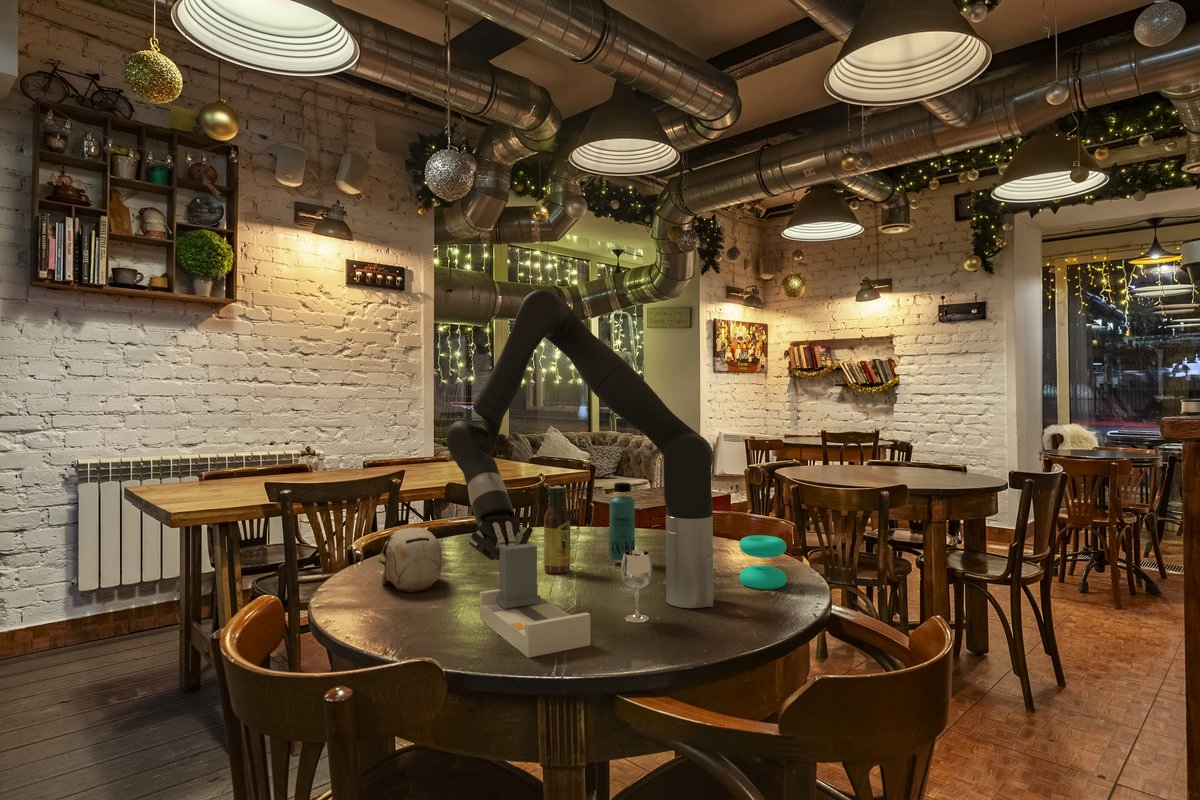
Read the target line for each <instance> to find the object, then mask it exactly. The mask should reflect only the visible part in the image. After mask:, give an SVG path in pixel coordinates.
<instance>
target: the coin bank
mask: <svg viewBox="0 0 1200 800" xmlns="http://www.w3.org/2000/svg"><path fill="white" fill-rule="evenodd" d="M442 551H443V550H442V547H441V544H440V542H439V540H438V539H437V538H436V536H435V535H434V534H433V533H432V532H431V531H429V530H428V529H427V530H426V529H424V528H423V527H419V528H418V527H408V528H407V527H406V528H403V529H399V530H397V531H395V532H394V533H393V534H392V535H391V536H389V538H388V540H386V541H385V543H384V545H383V548H382V550H381V553H380V554H379V555H378V558H377V562H378V563H380V564H382V565H383V568H384V571H383V575H382V577H381V584H382V586H383V585H384V586H386V585H387V586H388V585H390V586H391V585H394V587H395V588H396V589H397V591H400V592H404V591H406V592H407V593H415V591H416V592H420V590H422V591H426V590H428V589H429V588H431V587H432V586H433V585H434V583H436V581H438V579H439V578H440V576H441V572H442V566H443V552H442ZM427 588H428V589H427ZM406 592H405V593H406Z"/></svg>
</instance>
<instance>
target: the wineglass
mask: <svg viewBox="0 0 1200 800" xmlns="http://www.w3.org/2000/svg"><path fill="white" fill-rule="evenodd" d="M620 575H621V579H622V582H623V583H624V584H625V585H626V586H628V587H629V588H632V589H634V591H633V592H634V593H633V595H634V599H635V600H634V601H635V610H634V613H633V614H629V615H626V616H625V617H624V620H625V621H626V622H630V623H645V622H648V621H649V620H650V618H649V616H647V615H645V614H641V613H640V611H639V599H640V594H641V593H640V590H639V589H643V588H645V587H646V586H647V585H649V584H650V583H651V581H652V577H653V563H652V560H651V555H650V552H649V551H647V550H639V549H638V550H636V549H635V550H633V551H626V552H624V555H623V559H622V561H621V566H620Z"/></svg>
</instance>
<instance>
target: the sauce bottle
mask: <svg viewBox="0 0 1200 800" xmlns="http://www.w3.org/2000/svg"><path fill="white" fill-rule="evenodd" d="M548 497H549V498H548V500H549V503H548V508H547V510H546V511H545V514H544V517H543V519H544V520H543V521H544V523H543V524H544V525H543V565H544V566H543V570H544V572H545V573H547V574H554V575H555V574H557V575H558V574H559V573H560V574H565V573H568V572H569V571H570V566H571V519H570V516H569V513H568V510H567V507H566V499H565V498H566V486H549V487H548ZM560 574H559V575H560Z"/></svg>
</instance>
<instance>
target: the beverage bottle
mask: <svg viewBox="0 0 1200 800" xmlns="http://www.w3.org/2000/svg"><path fill="white" fill-rule="evenodd" d="M613 485H614V487H613V492H615V493H629V492H630V493H631V491H632V490H631V484H630V482H615V483H614V484H613ZM635 501H636V500H634V499H633V497H631V496H630V495H615V496H613V497H611V499H610V500H609V522H608V554H609V555H608V556H609V559H610V560H612V561H618V562H619V561H621V562H622V559H623V555H624V552H626V551H633V550H636V538H635V536H636V528H635V525H636V522H635V521H636V520H635V519H636V517H635V505H636V504H635Z"/></svg>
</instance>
